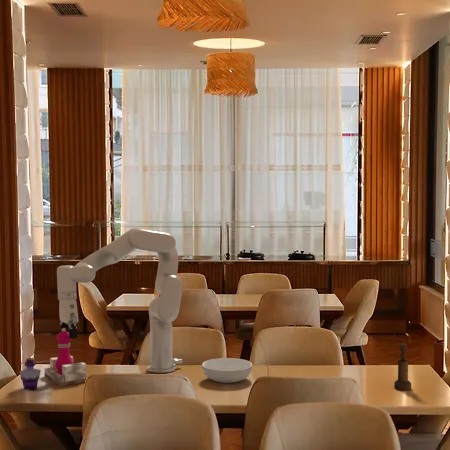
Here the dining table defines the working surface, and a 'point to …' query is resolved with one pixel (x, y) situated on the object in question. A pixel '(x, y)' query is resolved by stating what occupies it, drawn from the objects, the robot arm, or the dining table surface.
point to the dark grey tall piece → (402, 371)
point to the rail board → (66, 373)
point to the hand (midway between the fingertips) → (68, 336)
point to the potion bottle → (30, 375)
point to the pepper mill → (63, 350)
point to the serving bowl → (227, 369)
